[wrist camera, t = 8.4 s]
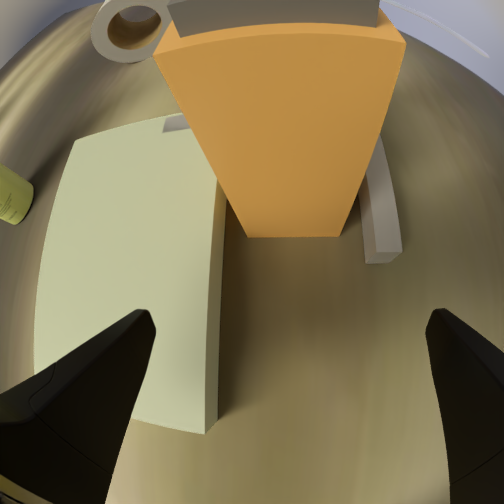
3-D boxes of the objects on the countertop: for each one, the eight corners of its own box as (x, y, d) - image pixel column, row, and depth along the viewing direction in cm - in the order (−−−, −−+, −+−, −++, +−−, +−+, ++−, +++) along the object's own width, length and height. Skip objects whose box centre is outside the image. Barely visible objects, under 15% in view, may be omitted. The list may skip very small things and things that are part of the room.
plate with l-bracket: (385, 419, 13) (398, 432, 10) (56, 378, 16) (34, 380, 14) (365, 125, 18) (370, 103, 16) (90, 154, 22) (75, 140, 19)
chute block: (338, 236, 16) (414, 7, 3) (248, 237, 17) (135, 23, 4) (331, 159, 18) (349, -46, 4) (250, 161, 19) (188, -36, 5)
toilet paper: (189, 42, 25) (163, -24, 15) (113, 75, 26) (76, 19, 16) (184, 16, 28) (163, -35, 18) (121, 43, 28) (93, -3, 19)
